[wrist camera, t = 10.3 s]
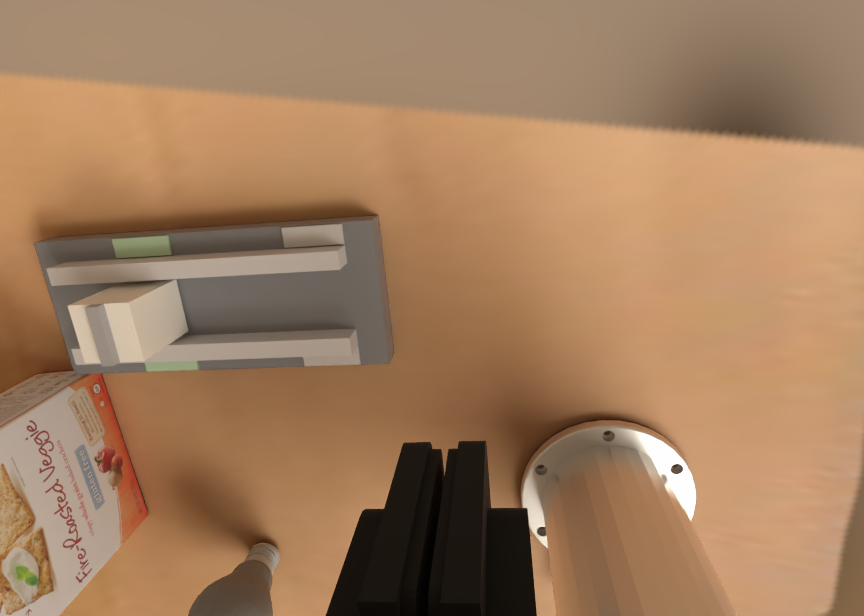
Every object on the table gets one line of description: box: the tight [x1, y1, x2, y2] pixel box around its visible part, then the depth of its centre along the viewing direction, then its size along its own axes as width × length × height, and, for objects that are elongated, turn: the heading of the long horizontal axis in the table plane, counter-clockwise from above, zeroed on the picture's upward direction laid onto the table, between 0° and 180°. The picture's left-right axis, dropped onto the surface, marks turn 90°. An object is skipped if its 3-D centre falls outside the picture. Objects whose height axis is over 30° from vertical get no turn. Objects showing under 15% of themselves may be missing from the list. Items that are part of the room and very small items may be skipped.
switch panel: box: [34, 215, 394, 374], centre depth 38 cm, size 10×24×4 cm, turn 95°
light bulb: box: [188, 543, 280, 616], centre depth 42 cm, size 6×6×10 cm
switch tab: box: [68, 279, 188, 366], centre depth 36 cm, size 4×4×6 cm
